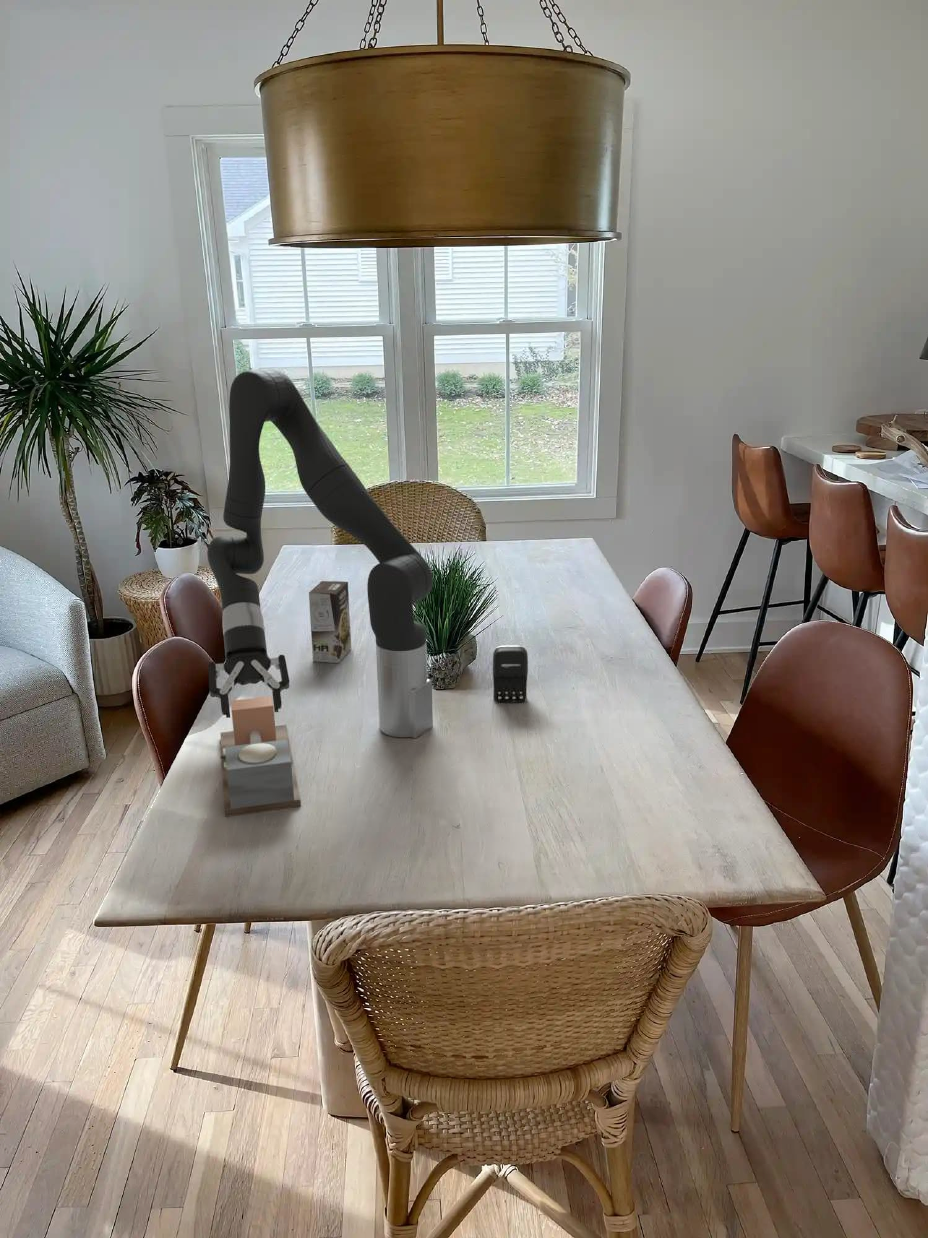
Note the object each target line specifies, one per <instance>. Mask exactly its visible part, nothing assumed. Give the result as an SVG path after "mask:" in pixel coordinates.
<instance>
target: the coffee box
mask: <svg viewBox="0 0 928 1238" xmlns="http://www.w3.org/2000/svg"><path fill="white" fill-rule="evenodd" d="M308 602H309V616H310V617H309V618H310V621H309V622H310V631H311V633H310V635H311V650H312V654H311V655H312V661H313V662H318V663H332V664H340V663H341V661H342V660H343V659H344V658H345V656H347V654H348V653H349V652H350V651H351V649H352V635H351V634H352V631H351V616H350V598H349V582H348V581H339V580H338V581H337V580H330V581H329V580H327V581H326V580H321V581H320V582H319V583H318V584H317V585H316V586H314V587H313V589H312V590H310V591H309V592H308Z"/></svg>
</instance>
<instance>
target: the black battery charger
mask: <svg viewBox="0 0 928 1238" xmlns="http://www.w3.org/2000/svg"><path fill="white" fill-rule="evenodd" d="M528 656H529V654H528V650H527V649H526V647H525V646H523V645H513V644H511V645H510V644H509V645H508V644H507V645H505V644H503V645H499V646H496V647H495V648H494V650H493V652H492V681H493V687H492V688H493V692H492V693H493V694H492V697H493V700H494V702H496V703H499V704H500V703H501V704H502V703H503V704H506V703H507V704H512V703H513V704H515V703H516V704H517V703H518V704H519V702H521V703H524V702H526V701H527V697H528V692H527V690H528V689H527V688H528V687H527V686H528V684H527V683H528V673H529V672H528V671H529V657H528Z"/></svg>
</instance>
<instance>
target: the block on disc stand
mask: <svg viewBox="0 0 928 1238" xmlns="http://www.w3.org/2000/svg"><path fill="white" fill-rule="evenodd" d="M230 710H231V711H230V712H231V719H232V720H231V721H232V729H233V730H232V731H234V740H235V746H237V745H245V744H253V743H262V742H270V741H276V731H275V726H276V720H275V712H274V703H273V695H270V696H261V697H252V698H251V697H250V698H241V699H235V700H233V699H232V700H230ZM224 758H226V755H225V756H222V755H220V759H221V760H222V759H224Z"/></svg>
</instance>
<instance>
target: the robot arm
mask: <svg viewBox="0 0 928 1238" xmlns="http://www.w3.org/2000/svg"><path fill="white" fill-rule="evenodd" d="M229 390H230V391H229V398H228V399H229V402H228V403H229V404H228V407H229V409H228V411H229V471H228V480H227V489H226V494H225V501H224V509H223V513H222V514H223V517H222V518H223V522H224V523H225V525H226V526H228V527H230V528H232V529H234V530H238V531H240V532H244V533H246V535H245V537H241V536H240V537H239V536H238V537H237V536H224V535H219V536H217V537H214V538H212V540H211V541H210V543H209V544H208V547H207V553H206V554H207V555H206V556H207V561H208V564H209V567H210V570H211V572H212V574H213V576H214V578H215V581H216V583H217V587H218V589H219V591H220V598H221V607H222V608H221V609H222V620H221V621H222V634H223V644H224V653H225V654H224V655H225V660H224V662H223V663H216V662H214V661H210V662H209V663H208V688H209V689H208V691H209V695H210V697H211V698H218V699H219V700H220V709H221V714H222V715H223V716H225V717H226V719H229V718H231V713H230V712H231V711H230V710H231V708H230V700H229V699H230V698H229V695H230V694H231V692H232V691H233V690H234V689H235V688H236V686H237V684H238V685H240V686H246V685H249V684H254V685H255V684H259V682H262V683H263V684H264V685H265V686H266V687H268V688H269V689H270V690H271V691H272V695H271V696H272V701H273V707H274V713H279V710H280V709H282V705H283V703H282V696H281V693H282V691H284V690H288V689H290V677H289V672H288V667H287V660H286V657H285V654H280V655H278V656H277V657H272V658H270V657H269V655H268V650H267V649H268V648H267V641H266V633H265V631H266V630H265V629H266V627H265V624H264V617H263V613H262V609H261V601H260V592H259V591H260V590H259V586H258V584H257V582H256V581H254V580H252V579H251V578H249V577H245V576H242V575H254V574H256V573H258V572H259V571H260V570H261V569H262V567H263V565H264V561H265V552H264V546H263V541H262V514H263V509H264V504H265V498H266V497H265V496H266V479H265V478H266V477H265V474H264V470H263V466H262V462H261V461H262V460H261V456H260V455H261V454H260V443H261V442H260V441H261V435H262V432H263V428H264V426H265V425H264V424H265V423H266V422H271V423H272V424H273V425H274V426H275V427H276V428H277V430H278V431H279V432H280V433H281V434H282V436H283V438H284V439H285V440H286V441H287V443H288V445H289V446H290V448H291V450H292V453H293V456H294V459H295V465H296V470H297V471H296V472H297V475H298V478H299V482H300V484H301V487H302V488H303V491H304V492H305V493H306V495H307V496H308V498H309V499H310V500H311V501H312V503H313V504H314V506H315V508H316V509H317V510H318V511H319V512H320V513H321V514H322V516H323V517H324V518H325V519H326V520H327V521H329V522H330V523H332V524H333V525H334V526H335V527H337V528H339V529H341V530H342V531H343V532H345V533H346V534H348V535H349V536H350V535H351V537H353V538H355V539H356V540H357V541H358V542H360V543H362V544H363V546H365V547H366V548H367V549H368V550H369V552H370V553H371V554H372V555H373V556H374V558H375V559H376V560H377V561H378V563H377V564H376V565H374V566H373V567H372V568H371V570H370V572H369V574H368V578H367V584H366V586H367V591H366V592H367V601H368V602H367V603H368V612H369V621H370V626H371V630H372V632H373V634H374V637H375V649H376V650H375V651H376V653H375V654H376V671H377V672H376V674H377V675H376V676H377V678H376V679H377V695H378V696H377V701H378V718H379V720H378V721H379V722H378V723H379V724H378V725H379V729H380V731H381V732H382V733H383V734H384V735H386V736H390V737H395V738H414V739H416V738H418V737H419V736H421V735H422V734H423V733H425V732H426V731H428V730H429V729H430V728H432V727H433V726H434V724H433V723H434V720H433V719H434V717H433V716H434V715H433V714H434V713H433V710H434V709H433V682H432V679H430V678H428V662H427V660H428V657H427V655H428V653H427V629H426V627H425V626H424V625H423V624H422V623H421V622H419V621H416V620H415V618H414V616H415V615H414V604H416V603H417V602H419V601H422V600H423V599H424V598H426V597H428V595H430V593H431V592H432V590H433V586H434V577H433V573H432V570H431V568H430V566H429V564H428V563H427V561H426V560H425V558H424V557H423V556H422V555H421V553H420V552H419V551H418V550H417V549H416V548H415V547H414V546H413V545H412V544H411V543H410V542H409V540H408V539H407V538H406V537H405V536H404V534H402V533H401V532H400V531H399V529H398V528H397V527H396V526H395V525H394V524H393V522H392V521H391V520H390V518H389V517H388V516H387V515H386V513H385V512H384V510H382V508H381V507H380V505H379V504H378V503H377V502H376V500H375V499H374V498H373V497H372V495H371V494H370V493H369V491H368V489H366V487H365V485H364V484H363V482H362V481H361V480H360V478H359V477H358V475H357V474H356V472H355V471H354V470H353V468H351V466H350V465H349V463H348V462H347V461H346V460H345V459H344V457H343V456H342V455H341V453H340V452H339V451H338V449H337V448H336V447H335V445H334V444H333V442H332V441H331V440H330V438H329V436H327V434H326V433H325V432H324V430H323V429H322V427H321V426H320V425H319V423H318V422H317V420H316V418H315V417H314V415H313V414H312V412H311V410H310V408H309V406H308V405H307V404H306V402H305V400H304V398H303V397H302V394H301V393H300V391H299V390H298V388H297V387H296V384H294V382H293V381H292V379H290V377H289V376H288V375H287V374H286V373H284V372H282V371H281V370H278V369H273V368H269V369H268V368H266V369H252V370H250V369H249V370H245V371H242V372H240V373H238V374H237V375H236V377H235V378H234V379H233V381H232V382H231V385H230V389H229ZM271 666H273V667H274V668H275V669H276V670H279V673H280V678H281V681H277V680H276V678H274V677H273V675H272V674H271V673H270V672H269V669H270V667H271ZM222 671H225V673H226V674H227V675H228V677H227V678H226V679H225V682H224V684H223V685H222V687H221V688H220V687H218V686H217V683H218V681H217V679H218V678H217V677H220V675H221V674H222Z"/></svg>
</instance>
